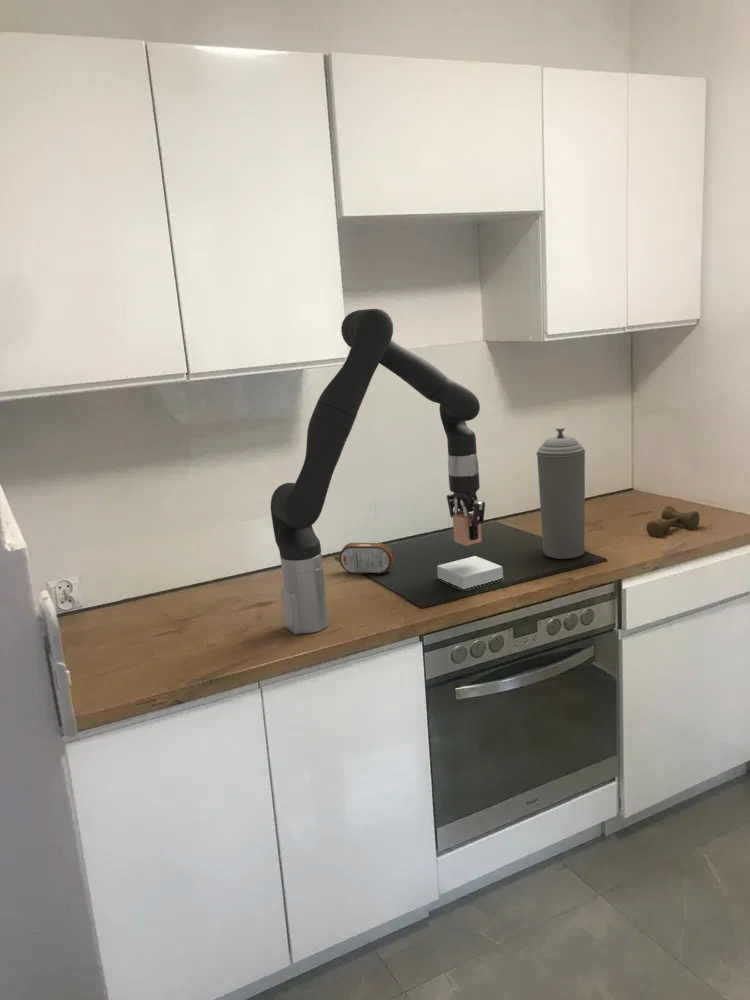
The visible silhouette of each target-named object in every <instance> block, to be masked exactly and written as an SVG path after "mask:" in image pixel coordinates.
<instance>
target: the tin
mask: <svg viewBox="0 0 750 1000" xmlns="http://www.w3.org/2000/svg"><path fill="white" fill-rule="evenodd" d="M338 559H339V564H340V566H341V568H342V569H343V570H344V571H346V572H347V573H349V574H355V575H356V574H357V575H361V574H362V575H365V574H364V573H368V572H369V573H371V572H372V573H373V572H374V573H383V574H385V573H388V572H389V570H390V569H391V568H392V567H393V565H394V562H395V555H394V553H393V550H392V549H391V548H390V547H389V546H388V545H386V544H384V543H382V542H350V543H347V544H345V546H343V548H342V549H341V551H340V553H339V556H338Z"/></svg>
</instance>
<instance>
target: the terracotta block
mask: <svg viewBox="0 0 750 1000" xmlns="http://www.w3.org/2000/svg"><path fill="white" fill-rule="evenodd" d="M468 513H473V511H472V512H468ZM471 518H472V521H473V516H471ZM478 519H479V516H478ZM452 524H453V525H452V527H453V540H454V542H455V543H457V544H460V545H462V546H465V547H466V546H471V545H473V544H478V543H483V542H482V541H483V539H482V538H483V537H482V524H478V539H476V540H470V538H469V523H468V518H466V517H465V515H464V513H462V514H458V515H457V514H456V515H453V518H452Z"/></svg>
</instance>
